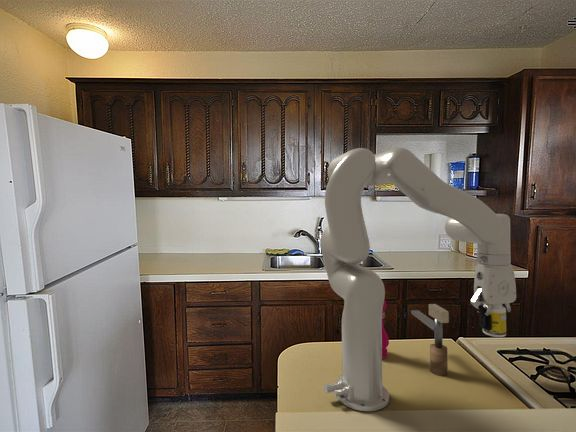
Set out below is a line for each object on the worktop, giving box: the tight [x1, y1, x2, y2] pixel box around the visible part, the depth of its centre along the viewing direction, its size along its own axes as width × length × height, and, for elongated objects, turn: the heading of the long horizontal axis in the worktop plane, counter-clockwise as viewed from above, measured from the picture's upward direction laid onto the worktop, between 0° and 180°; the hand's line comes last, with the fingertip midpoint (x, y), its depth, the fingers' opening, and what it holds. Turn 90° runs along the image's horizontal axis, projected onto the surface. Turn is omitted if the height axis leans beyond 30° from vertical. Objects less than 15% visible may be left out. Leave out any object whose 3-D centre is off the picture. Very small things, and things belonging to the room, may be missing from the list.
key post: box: [429, 343, 449, 377], centre depth 89 cm, size 4×4×7 cm
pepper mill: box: [382, 299, 390, 360], centre depth 100 cm, size 7×7×20 cm
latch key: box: [410, 303, 450, 347], centre depth 95 cm, size 18×2×11 cm, turn 3°
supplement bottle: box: [482, 304, 507, 338], centre depth 86 cm, size 5×5×10 cm
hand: (494, 326), depth 86 cm, fingers closed on supplement bottle, 5 cm apart
